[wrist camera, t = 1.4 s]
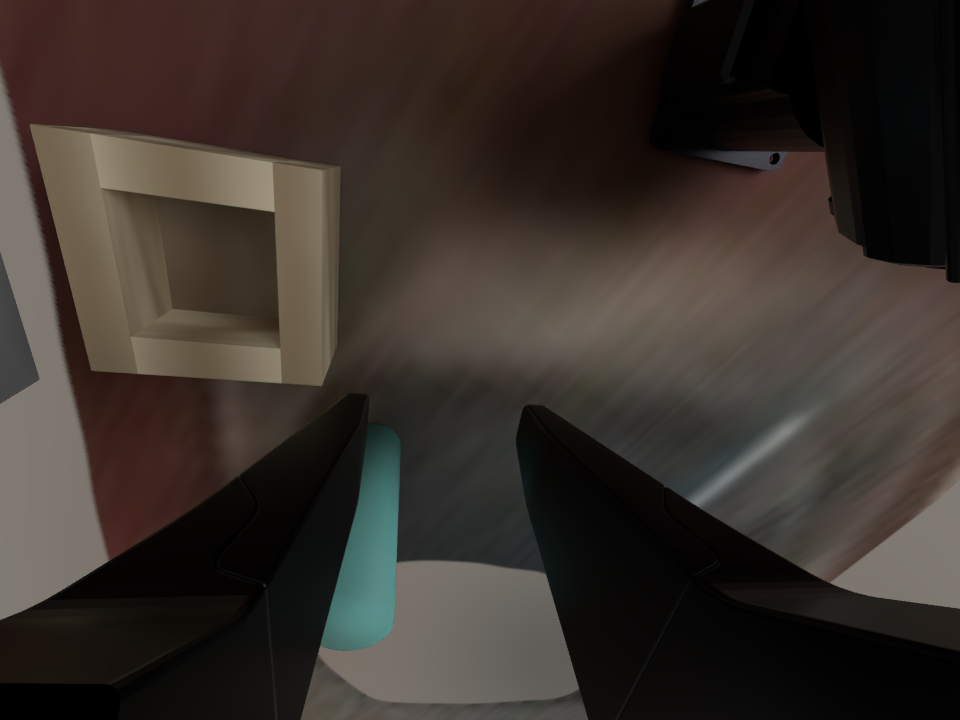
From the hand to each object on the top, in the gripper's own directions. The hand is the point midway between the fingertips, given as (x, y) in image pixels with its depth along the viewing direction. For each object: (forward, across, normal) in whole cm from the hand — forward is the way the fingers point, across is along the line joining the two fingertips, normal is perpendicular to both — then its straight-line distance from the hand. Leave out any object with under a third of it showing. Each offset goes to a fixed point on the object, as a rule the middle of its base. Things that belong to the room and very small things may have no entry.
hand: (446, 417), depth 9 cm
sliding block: (+12, +8, 0) cm, 14 cm away
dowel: (+12, +2, +10) cm, 16 cm away
